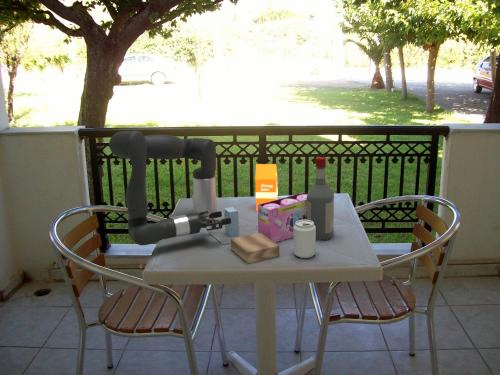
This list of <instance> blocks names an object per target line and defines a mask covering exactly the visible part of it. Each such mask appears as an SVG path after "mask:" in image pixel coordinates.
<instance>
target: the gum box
mask: <svg viewBox="0 0 500 375" xmlns="http://www.w3.org/2000/svg"><path fill="white" fill-rule="evenodd" d="M307 195H308V193H307V192H300V193H295V194H292V195H288V196H285V197H281V198H278V199H277V200H274V201H270V202H266V203H262V204H258V211H257V228H258V229H257V230H258V231H257V233H260V232H261V233H262V234H264V235H265V236H267V237H268V238H269V239H271V240H272V241H274V242H275V243H278V242H279V241H280V242H282V241H286V240H288V239H292V238H294V230H293V227H294V225H295V222H296V221H298V220H307ZM285 239H286V240H285Z"/></svg>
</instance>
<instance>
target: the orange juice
mask: <svg viewBox="0 0 500 375" xmlns="http://www.w3.org/2000/svg"><path fill="white" fill-rule="evenodd" d="M277 170H278V168H277V164H276V163H273V164H272V163H265V164H263V163H259V164H257V163H256V164H255V177H254V178H255V179H254V180H255V205H256V206H255V208H256V209H255V210H256V212H258V204H262V203H266V202H270V201H274V200H277V199H279V198H278V196H279V194H278V192H279V191H278V186H279V185H278V171H277Z"/></svg>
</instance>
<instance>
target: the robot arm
mask: <svg viewBox="0 0 500 375" xmlns="http://www.w3.org/2000/svg"><path fill="white" fill-rule="evenodd" d="M108 146H109V150H110V151H111V153H112V154H113V155H114V156H115V157H117V158H120V159H130V162H131V173H130V178H129V181H128V184H127V187H126V190H125V202H126V210H127V215H128V217H127V224H128V225H127V228H128V231H127V232H128V235H129V237H130V239H131V240H132V241H133V242H134V243H135V244H136V245H139V246H148V245H152V244H155V243H157V242H160V241H162V240H167V239H172V238H178V237H179V238H180V237H184V236H185V237H186V236H190V235H195V234H199V233H200V232H201V229H206V232H211V231H216V230H221V229H223V226H225V225H227V224H231V218H225V217H224V218H221V217H223V212H222V211H221V210H220V211H219V210H218V205H217V204H218V200H217V187H216V184H217V183H216V170H217V147H216V144H215V141H214V140H213V139H210V138H200V137H192V138H180V137H179V136H176V135H169V134H149V135H148V134H147V135H144V134H143V133H142V132H141V131H139V130H123V131H122V130H121V131H118V132H116V133H114V134H113V135H111V137H110V139H109V142H108ZM147 158H149V159H156V160H176V159H179V158H185V159H190V160H192V161H199V162H201V166H200V167H197V168H194V169H193V170H192V183H193V193H192V207H193V208H192V210H193V212H192V213H187V214H181V215H177V216H173V217H170V218H164V219H160V220H158V221H157V222H156V223H152V224H148V221H147V216H148V214H149V204H148V199H147V198H148V197H147V187H146V184H147V183H146V179H147V178H146V177H147ZM218 218H219V219H218ZM220 218H221V219H220Z"/></svg>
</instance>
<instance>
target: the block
mask: <svg viewBox="0 0 500 375" xmlns="http://www.w3.org/2000/svg"><path fill="white" fill-rule="evenodd" d="M223 210H224V212H223V213H224V219H225V218H231V224H227V225H224V229H225V233H226V234H227V235H228V236H230V237H235V236H239V226H240V225H239V224H240V223H239V211H238V209H236V208H235V207H233V206H231V207H225V208H224V209H223Z"/></svg>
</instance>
